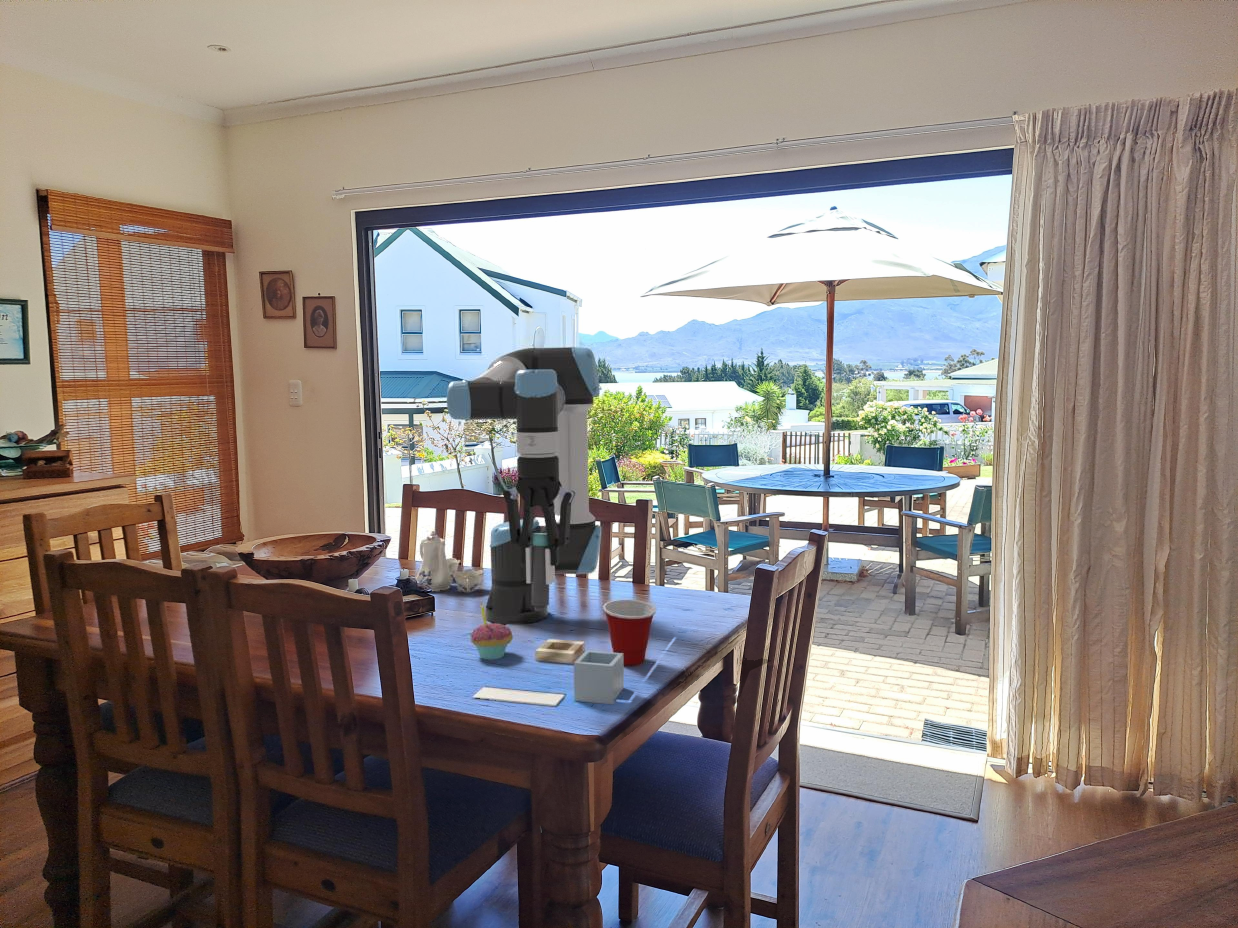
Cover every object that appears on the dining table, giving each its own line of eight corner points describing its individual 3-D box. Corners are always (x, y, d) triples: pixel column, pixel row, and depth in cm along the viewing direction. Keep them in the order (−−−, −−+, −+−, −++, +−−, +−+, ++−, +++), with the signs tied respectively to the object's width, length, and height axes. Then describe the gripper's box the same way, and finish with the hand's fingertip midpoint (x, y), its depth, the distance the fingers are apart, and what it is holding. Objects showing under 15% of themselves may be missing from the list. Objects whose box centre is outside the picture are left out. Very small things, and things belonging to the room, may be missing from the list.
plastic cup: (632, 676, 166) (631, 616, 165) (592, 664, 173) (591, 606, 172) (668, 662, 174) (667, 604, 173) (628, 651, 181) (628, 596, 180)
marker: (531, 611, 156) (532, 534, 156) (530, 608, 159) (531, 533, 159) (549, 611, 156) (551, 534, 156) (548, 608, 160) (549, 533, 160)
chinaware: (494, 597, 234) (498, 536, 233) (438, 601, 224) (442, 538, 223) (448, 579, 256) (451, 523, 255) (395, 581, 246) (398, 524, 245)
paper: (472, 698, 156) (472, 696, 156) (503, 672, 169) (503, 670, 169) (555, 706, 152) (555, 704, 152) (580, 679, 165) (580, 677, 165)
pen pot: (574, 700, 154) (573, 662, 154) (586, 686, 161) (586, 650, 160) (612, 704, 152) (612, 665, 152) (623, 689, 159) (623, 653, 159)
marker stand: (535, 662, 175) (535, 650, 175) (549, 650, 183) (548, 638, 182) (572, 665, 173) (572, 653, 173) (584, 653, 181) (584, 641, 180)
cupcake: (477, 666, 173) (475, 608, 172) (466, 654, 181) (465, 598, 180) (518, 660, 177) (516, 603, 175) (506, 648, 184) (504, 593, 183)
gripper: (488, 456, 154) (491, 584, 156) (573, 457, 150) (576, 589, 152) (504, 452, 161) (508, 574, 164) (586, 453, 157) (588, 579, 159)
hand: (540, 581), depth 158 cm, fingers closed on marker, 3 cm apart
